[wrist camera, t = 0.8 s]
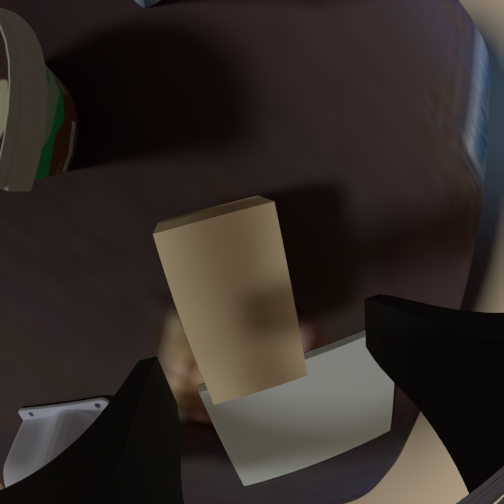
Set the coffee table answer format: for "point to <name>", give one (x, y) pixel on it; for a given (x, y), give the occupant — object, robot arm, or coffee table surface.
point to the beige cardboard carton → (234, 296)
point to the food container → (31, 110)
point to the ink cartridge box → (146, 2)
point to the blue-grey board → (306, 413)
